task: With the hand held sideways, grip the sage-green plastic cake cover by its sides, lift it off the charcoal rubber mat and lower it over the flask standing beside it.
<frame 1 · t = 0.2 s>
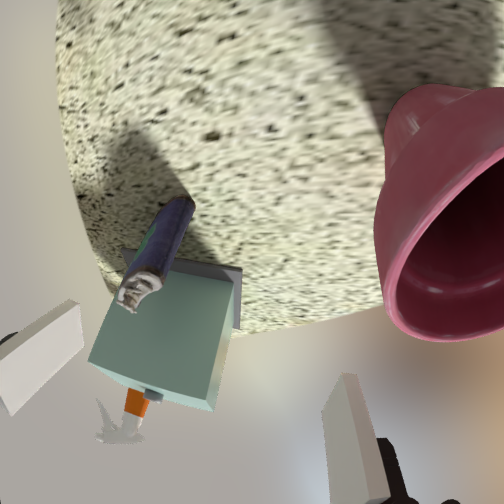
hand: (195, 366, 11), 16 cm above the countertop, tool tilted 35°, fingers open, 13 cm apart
flask: (169, 220, 28), on the countertop
spray bottle: (153, 320, 50), on the countertop
cake cover: (168, 345, 33), on the rubber mat
rubber mat: (186, 293, 38), on the countertop
plant pot: (435, 136, 16), on the countertop
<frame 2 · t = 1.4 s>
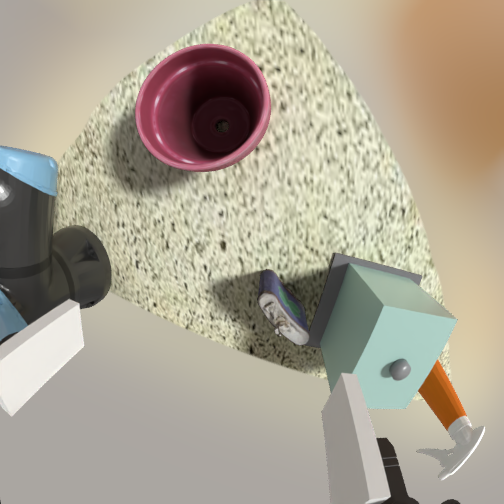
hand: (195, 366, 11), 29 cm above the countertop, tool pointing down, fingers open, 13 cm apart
flask: (281, 292, 41), on the countertop
spray bottle: (407, 362, 43), on the countertop
cake cover: (381, 337, 32), on the rubber mat
rubber mat: (365, 311, 40), on the countertop
plant pot: (221, 125, 36), on the countertop
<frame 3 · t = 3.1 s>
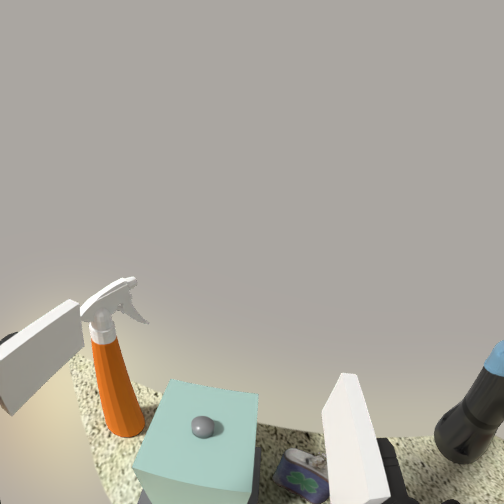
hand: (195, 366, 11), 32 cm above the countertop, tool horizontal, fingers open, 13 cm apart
flask: (298, 489, 28), on the countertop
spray bottle: (134, 419, 37), on the countertop
cake cover: (203, 457, 26), on the rubber mat
rubber mat: (203, 480, 28), on the countertop
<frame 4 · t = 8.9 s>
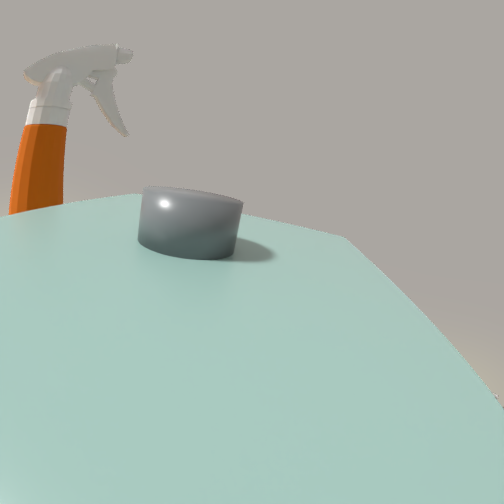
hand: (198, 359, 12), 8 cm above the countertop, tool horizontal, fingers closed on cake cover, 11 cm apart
spray bottle: (67, 347, 20), on the countertop
cake cover: (172, 418, 8), on the rubber mat, touching gripper
when the fingers open (9 cm above the countertop, at t = 17.9 s): cake cover drops 1 cm, on the countertop.
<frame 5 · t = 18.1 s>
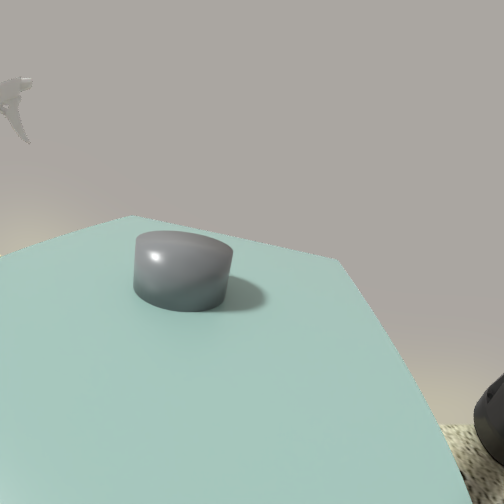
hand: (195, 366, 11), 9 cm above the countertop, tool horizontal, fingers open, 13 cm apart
cake cover: (171, 436, 9), on the countertop
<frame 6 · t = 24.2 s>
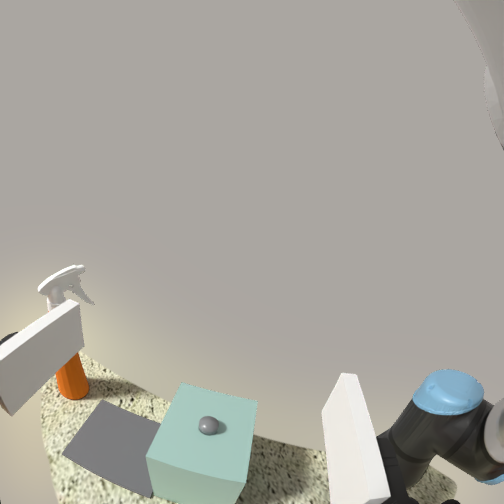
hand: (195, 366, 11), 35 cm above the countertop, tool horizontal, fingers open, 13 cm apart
spray bottle: (81, 386, 42), on the countertop
cake cover: (203, 452, 30), on the countertop
rubber mat: (121, 445, 33), on the countertop
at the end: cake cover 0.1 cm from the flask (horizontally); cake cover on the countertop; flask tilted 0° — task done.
